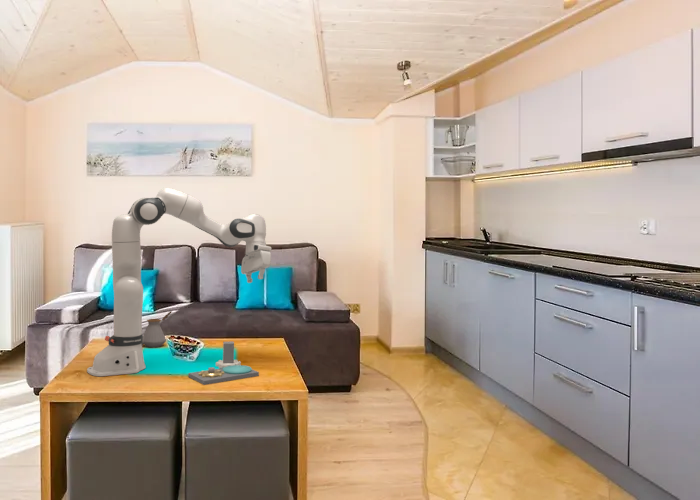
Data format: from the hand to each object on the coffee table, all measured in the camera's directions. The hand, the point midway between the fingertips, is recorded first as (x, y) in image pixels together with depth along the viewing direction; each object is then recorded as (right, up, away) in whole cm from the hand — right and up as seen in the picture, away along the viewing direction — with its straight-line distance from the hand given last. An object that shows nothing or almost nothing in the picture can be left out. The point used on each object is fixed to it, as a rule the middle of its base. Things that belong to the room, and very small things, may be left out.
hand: (255, 280), depth 268 cm
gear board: (-9, -37, -23) cm, 45 cm away
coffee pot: (-53, -33, +35) cm, 72 cm away
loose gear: (-11, -36, -5) cm, 38 cm away
